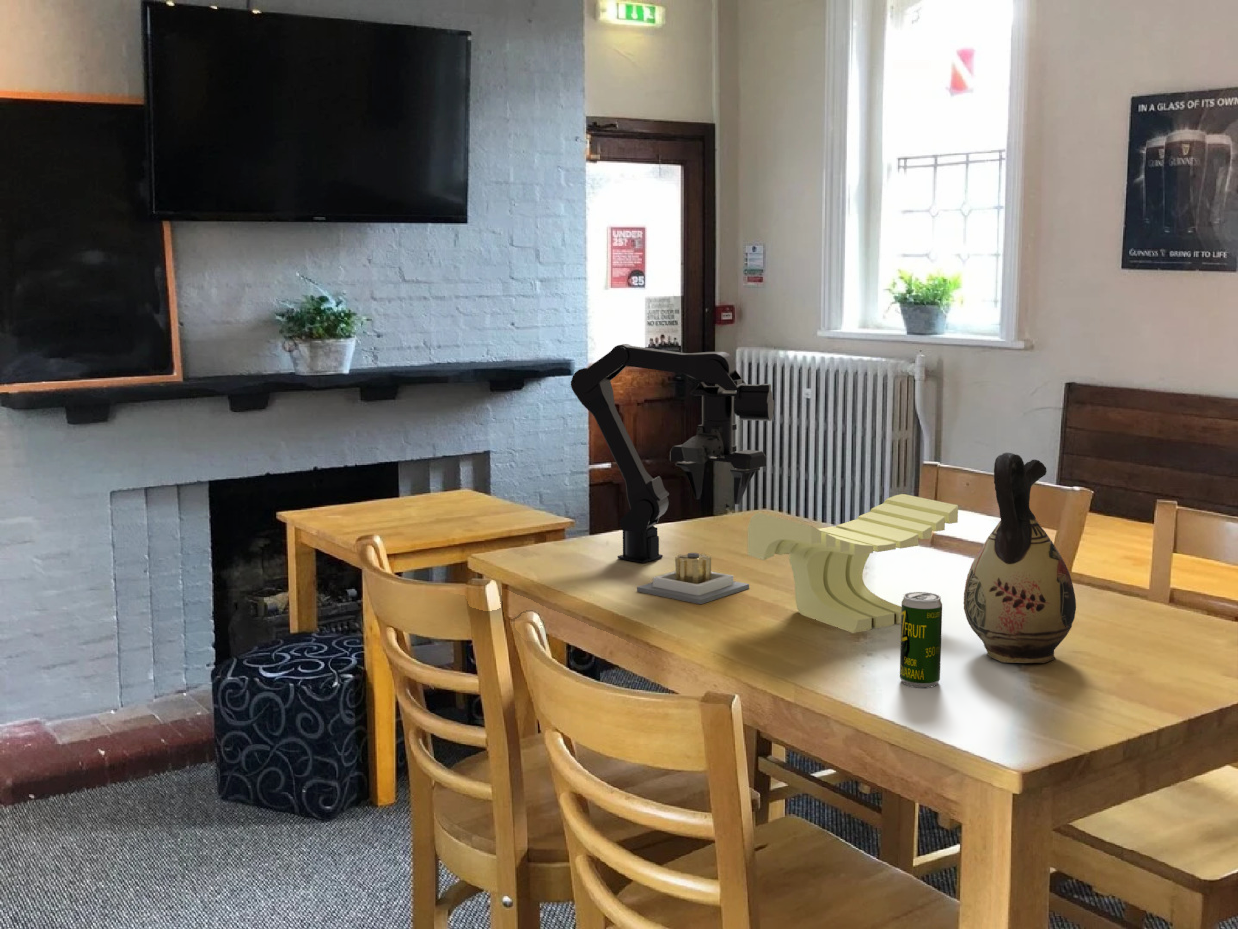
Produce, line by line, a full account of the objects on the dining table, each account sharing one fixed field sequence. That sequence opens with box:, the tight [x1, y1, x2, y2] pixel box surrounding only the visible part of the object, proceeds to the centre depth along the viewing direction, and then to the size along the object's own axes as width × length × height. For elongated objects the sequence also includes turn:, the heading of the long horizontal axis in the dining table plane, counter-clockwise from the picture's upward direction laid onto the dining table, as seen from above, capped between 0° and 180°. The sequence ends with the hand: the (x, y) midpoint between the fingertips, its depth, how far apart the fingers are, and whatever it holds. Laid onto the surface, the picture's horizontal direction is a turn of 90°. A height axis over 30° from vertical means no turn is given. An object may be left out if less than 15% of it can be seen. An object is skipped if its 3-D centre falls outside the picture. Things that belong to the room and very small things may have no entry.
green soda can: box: [899, 591, 943, 688], centre depth 177 cm, size 5×5×12 cm
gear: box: [674, 552, 712, 584], centre depth 228 cm, size 6×6×6 cm
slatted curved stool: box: [747, 493, 959, 634], centre depth 210 cm, size 30×16×18 cm, turn 121°
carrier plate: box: [636, 571, 750, 605], centre depth 229 cm, size 14×14×2 cm
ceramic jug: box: [963, 452, 1077, 664], centre depth 186 cm, size 17×15×30 cm
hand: (717, 501), depth 247 cm, fingers open, 9 cm apart
